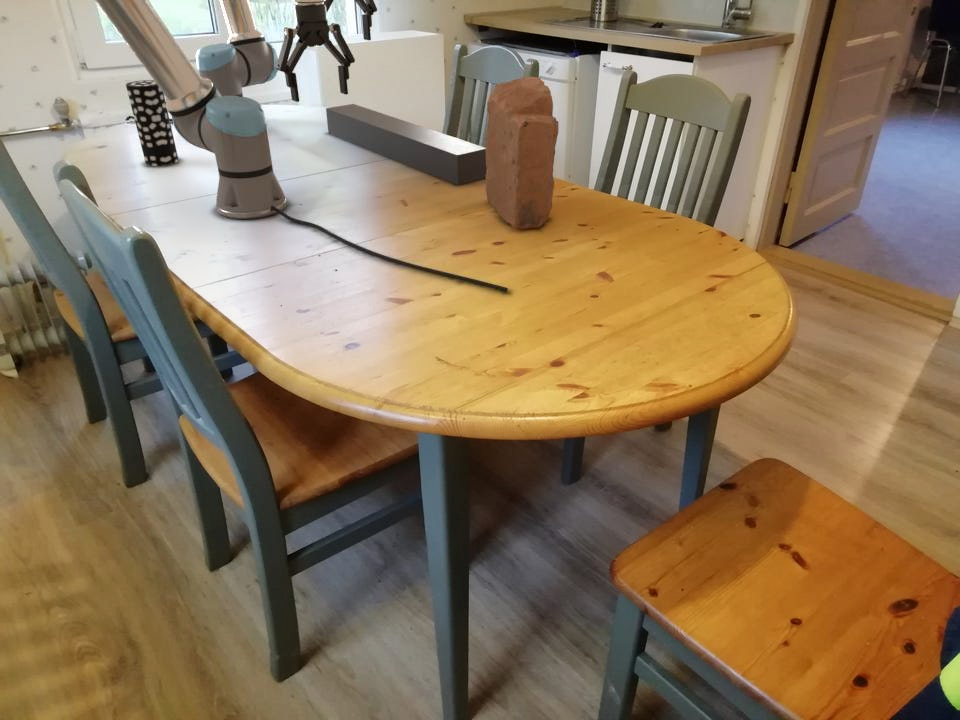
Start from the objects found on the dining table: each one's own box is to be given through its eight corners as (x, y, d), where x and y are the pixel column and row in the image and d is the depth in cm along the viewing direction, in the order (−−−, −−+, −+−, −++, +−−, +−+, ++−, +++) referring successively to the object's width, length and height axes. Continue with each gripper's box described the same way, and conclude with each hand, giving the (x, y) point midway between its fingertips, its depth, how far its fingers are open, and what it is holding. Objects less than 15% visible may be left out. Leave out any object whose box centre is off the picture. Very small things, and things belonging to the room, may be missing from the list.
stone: (564, 226, 149) (572, 89, 135) (516, 232, 146) (519, 92, 132) (527, 198, 167) (531, 73, 153) (483, 203, 164) (483, 76, 149)
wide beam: (486, 177, 179) (487, 148, 174) (457, 185, 173) (457, 155, 169) (355, 128, 219) (353, 103, 214) (328, 133, 213) (325, 108, 209)
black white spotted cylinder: (184, 157, 190) (167, 80, 179) (169, 166, 183) (151, 87, 172) (155, 156, 190) (136, 79, 179) (139, 165, 183) (119, 86, 172)
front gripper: (348, -2, 172) (356, 88, 184) (252, 5, 159) (267, 101, 171) (363, 1, 167) (370, 93, 179) (266, 8, 154) (280, 106, 166)
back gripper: (371, -46, 195) (376, 36, 206) (291, -44, 181) (301, 44, 192) (386, -45, 190) (390, 39, 201) (305, -43, 176) (314, 47, 187)
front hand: (320, 97), depth 175 cm, fingers open, 13 cm apart
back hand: (347, 42), depth 197 cm, fingers open, 13 cm apart
